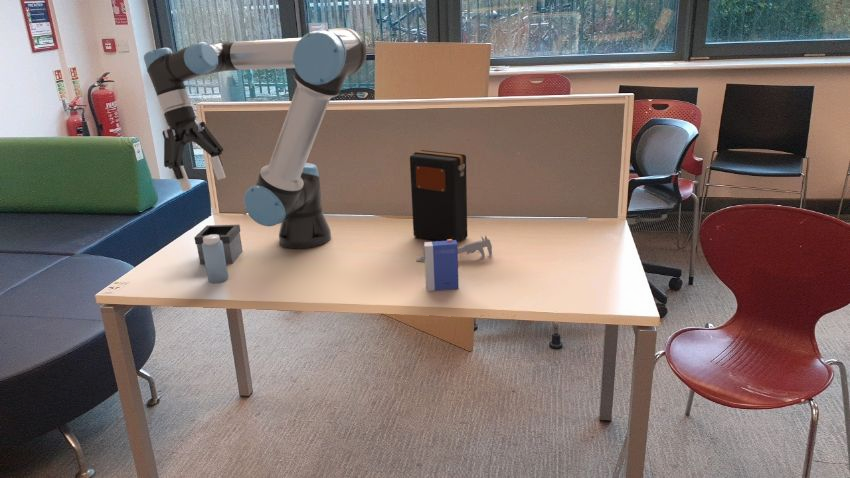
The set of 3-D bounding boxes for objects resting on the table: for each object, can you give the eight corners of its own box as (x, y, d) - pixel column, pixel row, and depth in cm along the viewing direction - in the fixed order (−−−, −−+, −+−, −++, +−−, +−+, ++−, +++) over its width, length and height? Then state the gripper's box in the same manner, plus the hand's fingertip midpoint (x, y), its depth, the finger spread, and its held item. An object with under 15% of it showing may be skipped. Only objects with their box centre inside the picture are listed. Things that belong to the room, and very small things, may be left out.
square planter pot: (243, 250, 181) (239, 224, 178) (233, 263, 172) (228, 236, 169) (211, 251, 181) (206, 225, 179) (199, 264, 173) (194, 237, 170)
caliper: (491, 256, 171) (491, 234, 168) (491, 258, 170) (491, 236, 167) (416, 261, 170) (415, 239, 167) (416, 262, 169) (415, 240, 166)
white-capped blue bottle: (230, 274, 165) (224, 233, 161) (224, 283, 161) (217, 240, 157) (212, 275, 166) (204, 233, 161) (205, 283, 161) (197, 241, 157)
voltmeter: (470, 237, 184) (469, 153, 175) (455, 247, 177) (453, 160, 168) (425, 228, 192) (421, 148, 183) (409, 238, 185) (405, 154, 176)
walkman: (456, 284, 155) (455, 238, 150) (458, 289, 152) (457, 242, 148) (425, 286, 154) (423, 240, 150) (426, 291, 151) (424, 245, 147)
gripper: (200, 106, 181) (225, 177, 186) (130, 118, 160) (161, 198, 164) (219, 99, 178) (244, 171, 182) (151, 111, 156) (181, 192, 161)
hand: (205, 184), depth 173 cm, fingers open, 13 cm apart
